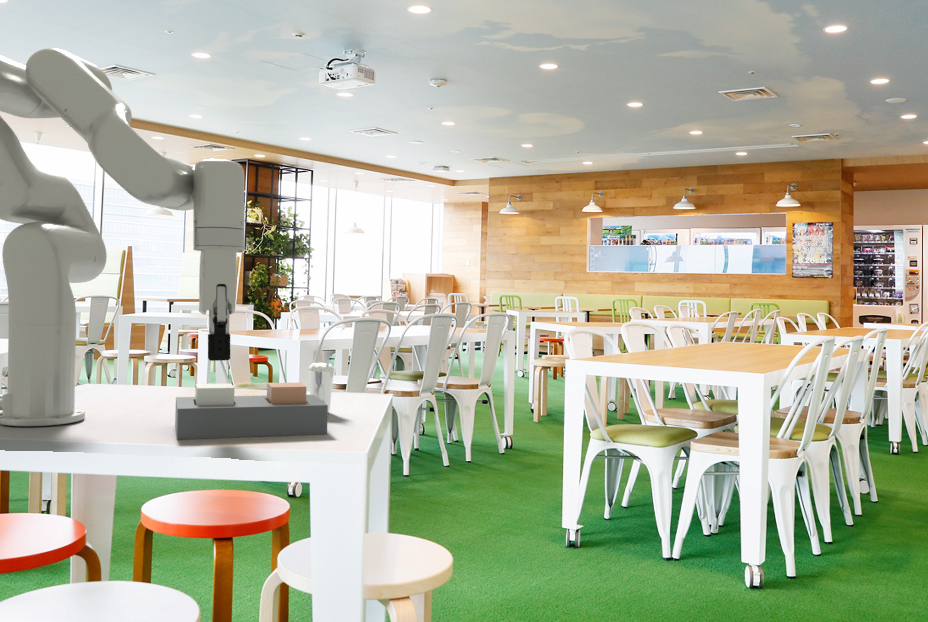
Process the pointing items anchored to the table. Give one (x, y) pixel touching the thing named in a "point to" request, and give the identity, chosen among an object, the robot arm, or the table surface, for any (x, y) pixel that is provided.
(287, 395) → the clay key
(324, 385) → the milkshake
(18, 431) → the table surface
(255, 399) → the key panel
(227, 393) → the white square block
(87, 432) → the table surface
